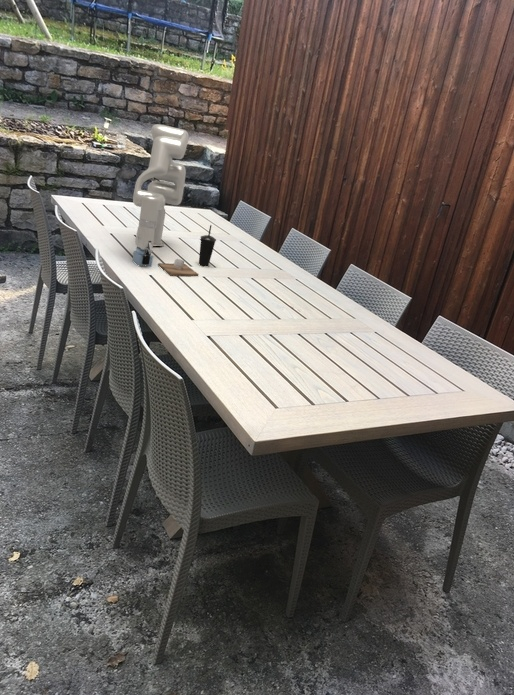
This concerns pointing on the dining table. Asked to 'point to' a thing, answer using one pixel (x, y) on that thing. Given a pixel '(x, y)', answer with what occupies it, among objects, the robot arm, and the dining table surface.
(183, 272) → the board
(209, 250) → the drinking cup
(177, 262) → the pale wood block
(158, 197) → the robot arm
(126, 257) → the dining table surface
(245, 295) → the dining table surface
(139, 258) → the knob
